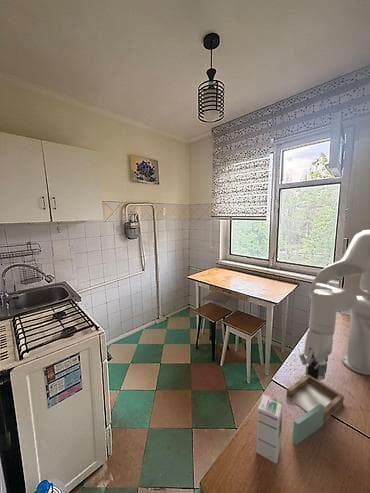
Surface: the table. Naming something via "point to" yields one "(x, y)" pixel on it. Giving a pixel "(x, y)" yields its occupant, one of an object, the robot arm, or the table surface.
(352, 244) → the robot arm
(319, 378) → the pill bottle
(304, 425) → the gate
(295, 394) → the bay
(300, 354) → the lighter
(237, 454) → the table surface
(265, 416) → the syrup box
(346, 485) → the table surface
